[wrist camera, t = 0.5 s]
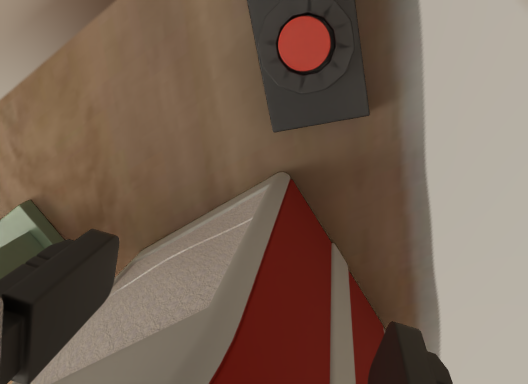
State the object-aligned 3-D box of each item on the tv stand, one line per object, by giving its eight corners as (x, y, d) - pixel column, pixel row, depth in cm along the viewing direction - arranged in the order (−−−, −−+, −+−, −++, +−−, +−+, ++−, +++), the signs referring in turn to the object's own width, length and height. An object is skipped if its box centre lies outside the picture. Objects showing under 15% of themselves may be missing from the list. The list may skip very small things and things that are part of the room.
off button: (277, 24, 27) (273, 22, 26) (326, 13, 26) (326, 10, 25) (286, 74, 28) (283, 76, 26) (334, 64, 27) (334, 65, 26)
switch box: (247, -24, 30) (234, -35, 26) (346, -50, 28) (348, -66, 25) (276, 127, 33) (269, 137, 29) (367, 111, 31) (372, 119, 28)
